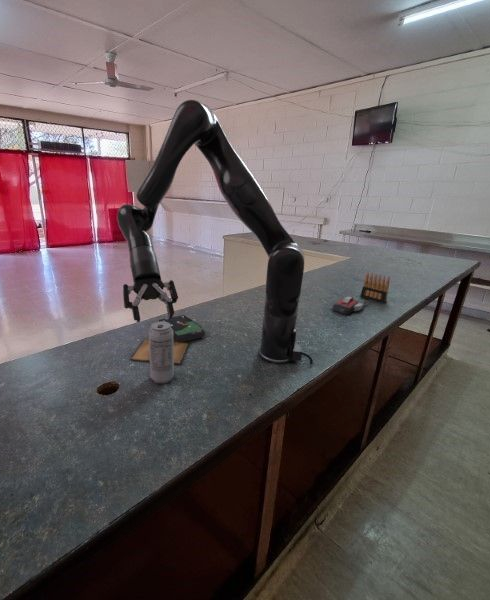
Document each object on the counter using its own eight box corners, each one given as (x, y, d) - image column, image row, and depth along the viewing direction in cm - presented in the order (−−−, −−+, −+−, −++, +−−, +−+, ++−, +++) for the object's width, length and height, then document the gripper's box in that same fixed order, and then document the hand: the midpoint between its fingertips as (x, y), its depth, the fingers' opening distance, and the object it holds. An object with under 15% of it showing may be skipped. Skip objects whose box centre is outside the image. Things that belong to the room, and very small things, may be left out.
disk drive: (158, 327, 110) (177, 343, 99) (157, 319, 109) (177, 335, 98) (184, 321, 116) (205, 336, 104) (184, 314, 115) (205, 328, 103)
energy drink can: (175, 372, 85) (175, 321, 79) (171, 385, 79) (170, 331, 74) (153, 370, 85) (151, 319, 80) (147, 383, 79) (145, 329, 74)
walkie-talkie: (352, 317, 123) (368, 304, 137) (354, 306, 122) (370, 294, 136) (330, 310, 129) (348, 299, 143) (332, 300, 127) (350, 290, 141)
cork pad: (188, 344, 99) (188, 343, 99) (179, 364, 88) (179, 363, 88) (145, 340, 101) (145, 339, 101) (131, 359, 90) (131, 358, 90)
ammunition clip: (386, 302, 140) (392, 276, 136) (384, 303, 139) (390, 277, 135) (361, 295, 147) (367, 271, 143) (360, 296, 146) (365, 271, 142)
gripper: (119, 260, 83) (128, 317, 77) (171, 257, 88) (184, 310, 82) (118, 274, 89) (126, 328, 83) (167, 270, 94) (178, 320, 88)
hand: (155, 319), depth 83 cm, fingers open, 8 cm apart
